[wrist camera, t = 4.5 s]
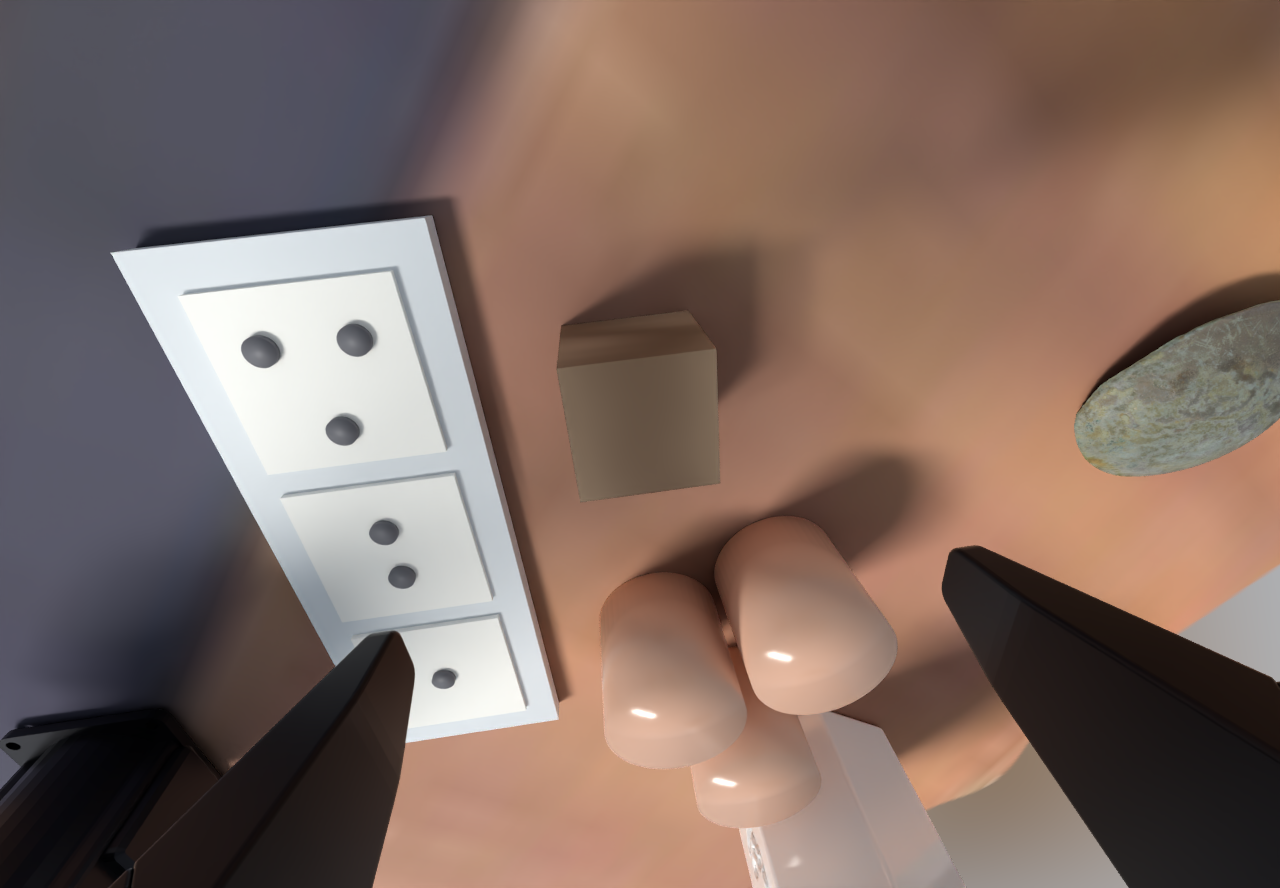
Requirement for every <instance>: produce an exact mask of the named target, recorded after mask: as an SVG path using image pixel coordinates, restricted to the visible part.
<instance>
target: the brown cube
mask: <svg viewBox="0 0 1280 888" xmlns="http://www.w3.org/2000/svg"><path fill="white" fill-rule="evenodd" d="M557 374H558V380H559V385H560V391H561V396H562V402H563V407H564V413H565V419H566V424H567V430H568V435H569V441H570V447H571V452H572V458H573V463H574V469H575V474H576V480H577V486H578V491H579V497H580V502H587V501H594V500H602V499H609V498H616V497H624V496H631V495H639V494H646V493H653V492H661V491H668V490H675V489H683V488H690V487H697V486H705V485H712V484H719V483H720V460H719V424H718V387H717V351H716V347H715V346H714V345H713V343H712V342H711V341H710V339H709V338H708V337H707V335H706V334H705V332H704V331H703V330H702V328H701V327H700V326H699V324H698V323H697V322H696V320H695V319H694V318H693V316H692V315H691V313H690V312H689V311H688V310H687V311H679V312H671V313H662V314H654V315H646V316H638V317H629V318H621V319H613V320H605V321H596V322H588V323H580V324H571V325H563V326H561V333H560V342H559V351H558V360H557Z"/></svg>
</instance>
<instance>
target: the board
mask: <svg viewBox="0 0 1280 888" xmlns="http://www.w3.org/2000/svg"><path fill="white" fill-rule="evenodd" d="M111 254H112V256H113V258H114V260H115V261H116V263H117V265H118V267H119V269H120V271H121V273H122V274H123V276H124V278H125V280H126V282H127V284H128V285H129V287H130V289H131V291H132V293H133V295H134V296H135V298H136V300H137V302H138V304H139V306H140V308H141V309H142V311H143V313H144V315H145V317H146V319H147V320H148V322H149V324H150V326H151V328H152V330H153V331H154V333H155V335H156V337H157V339H158V341H159V343H160V344H161V346H162V348H163V350H164V352H165V354H166V355H167V357H168V359H169V361H170V363H171V365H172V366H173V368H174V370H175V372H176V374H177V376H178V378H179V379H180V381H181V383H182V385H183V387H184V389H185V390H186V392H187V394H188V396H189V398H190V400H191V401H192V403H193V405H194V407H195V409H196V411H197V413H198V414H199V416H200V418H201V420H202V422H203V424H204V425H205V427H206V429H207V431H208V433H209V435H210V436H211V438H212V440H213V442H214V444H215V446H216V448H217V449H218V451H219V453H220V455H221V457H222V459H223V460H224V462H225V464H226V466H227V468H228V470H229V471H230V473H231V475H232V477H233V479H234V481H235V483H236V484H237V486H238V488H239V490H240V492H241V494H242V495H243V497H244V499H245V501H246V503H247V505H248V506H249V508H250V510H251V512H252V514H253V516H254V518H255V519H256V521H257V523H258V525H259V527H260V529H261V530H262V532H263V534H264V536H265V538H266V540H267V541H268V543H269V545H270V547H271V549H272V551H273V553H274V554H275V556H276V558H277V560H278V562H279V564H280V565H281V567H282V569H283V571H284V573H285V575H286V576H287V578H288V580H289V582H290V584H291V586H292V588H293V589H294V591H295V593H296V595H297V597H298V599H299V600H300V602H301V604H302V606H303V608H304V610H305V611H306V613H307V615H308V617H309V619H310V621H311V623H312V624H313V626H314V628H315V630H316V632H317V634H318V635H319V637H320V639H321V641H322V643H323V645H324V646H325V648H326V650H327V652H328V654H329V656H330V658H331V659H332V661H333V663H334V665H335V666H337V665H338V664H339V663H340V662H341V661H342V660H343V659H344V658H345V657H346V656H347V655H348V654H349V653H350V652H351V651H352V650H353V649H354V648H355V647H356V646H357V645H358V644H359V643H360V642H361V641H362V640H363V639H364V638H365V637H367V636H368V635H369V634H372V633H377V632H383V631H390V630H395V631H397V632H399V633H400V635H401V636H402V639H403V641H404V643H405V646H406V648H407V650H408V652H409V655H410V657H411V659H412V662H413V664H414V668H415V682H414V689H413V696H412V703H411V709H410V716H409V723H408V729H407V736H406V743H408V742H414V741H421V740H427V739H434V738H440V737H447V736H454V735H460V734H467V733H473V732H480V731H486V730H493V729H499V728H506V727H512V726H519V725H525V724H532V723H538V722H545V721H551V720H558V719H559V701H558V697H557V694H556V690H555V686H554V682H553V678H552V674H551V670H550V667H549V663H548V659H547V655H546V651H545V647H544V644H543V640H542V636H541V632H540V628H539V624H538V620H537V617H536V613H535V609H534V605H533V601H532V597H531V593H530V590H529V586H528V582H527V578H526V574H525V570H524V567H523V563H522V559H521V555H520V551H519V547H518V543H517V540H516V536H515V532H514V528H513V524H512V520H511V516H510V513H509V509H508V505H507V501H506V497H505V493H504V490H503V486H502V482H501V478H500V474H499V470H498V466H497V463H496V459H495V455H494V451H493V447H492V443H491V440H490V436H489V432H488V428H487V424H486V420H485V416H484V413H483V409H482V405H481V401H480V397H479V393H478V389H477V386H476V382H475V378H474V374H473V370H472V366H471V363H470V359H469V355H468V351H467V347H466V343H465V339H464V336H463V332H462V328H461V324H460V320H459V316H458V312H457V309H456V305H455V301H454V297H453V293H452V289H451V286H450V282H449V278H448V274H447V270H446V266H445V262H444V259H443V255H442V251H441V247H440V243H439V239H438V236H437V232H436V228H435V224H434V220H433V216H432V215H430V216H421V217H412V218H403V219H394V220H385V221H376V222H367V223H358V224H349V225H340V226H331V227H322V228H313V229H304V230H295V231H286V232H277V233H268V234H259V235H250V236H241V237H232V238H223V239H214V240H205V241H196V242H187V243H178V244H169V245H160V246H151V247H142V248H133V249H128V250H123V251H118V252H113V253H111Z"/></svg>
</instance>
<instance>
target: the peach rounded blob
mask: <svg viewBox="0 0 1280 888" xmlns="http://www.w3.org/2000/svg"><path fill="white" fill-rule="evenodd" d="M714 576H715V582H716V586H717V589H718V591H719V594H720V597H721V600H722V603H723V606H724V608H725V611H726V614H727V617H728V620H729V623H730V625H731V628H732V631H733V634H734V637H735V640H736V642H737V645H738V648H739V651H740V654H741V657H742V659H743V662H744V665H745V668H746V671H747V674H748V676H749V679H750V682H751V685H752V688H753V690H754V692H755V694H756V696H757V697H758V698H759V700H760V701H762V702H763V703H764V704H765V705H767V706H768V707H770V708H772V709H774V710H776V711H779V712H782V713H787V714H794V715H811V714H819V713H825V712H829V711H832V710H836V709H838V708H841V707H844V706H846V705H848V704H850V703H853V702H854V701H856V700H858V699H860V698H861V697H863V696H864V695H866V694H867V693H869V692H870V691H871V690H872V689H874V688H875V687H876V686H877V685H878V684H879V683H880V682H881V681H882V680H883V679H884V678H885V676H886V675H887V674H888V672H889V671H890V669H891V667H892V665H893V663H894V661H895V658H896V655H897V638H896V635H895V632H894V630H893V628H892V627H891V626H890V624H889V623H888V621H887V620H886V619H885V617H884V616H883V614H882V613H881V611H880V610H879V609H878V607H877V606H876V604H875V603H874V601H873V600H872V599H871V597H870V596H869V594H868V593H867V591H866V590H865V589H864V587H863V586H862V584H861V583H860V582H859V580H858V579H857V577H856V576H855V574H854V573H853V572H852V570H851V569H850V567H849V566H848V564H847V563H846V562H845V560H844V559H843V557H842V556H841V555H840V553H839V552H838V550H837V549H836V547H835V546H834V545H833V543H832V542H831V540H830V539H829V537H828V536H827V535H826V533H825V532H824V531H823V530H822V529H821V528H820V527H819V526H818V525H816V524H815V523H813V522H811V521H809V520H807V519H804V518H800V517H795V516H776V517H770V518H766V519H763V520H760V521H757V522H755V523H752V524H751V525H749V526H747V527H745V528H743V529H742V530H740V531H739V532H738V533H737V534H735V535H734V536H733V537H732V538H731V539H730V540H729V541H728V542H727V543H726V545H725V546H724V547H723V549H722V550H721V552H720V554H719V556H718V558H717V561H716V565H715V571H714Z"/></svg>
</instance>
